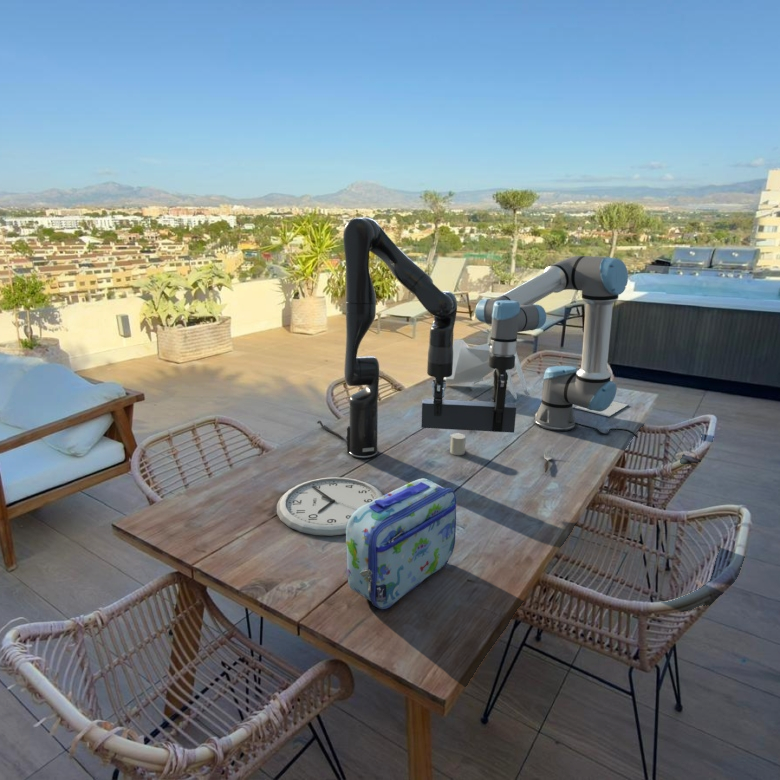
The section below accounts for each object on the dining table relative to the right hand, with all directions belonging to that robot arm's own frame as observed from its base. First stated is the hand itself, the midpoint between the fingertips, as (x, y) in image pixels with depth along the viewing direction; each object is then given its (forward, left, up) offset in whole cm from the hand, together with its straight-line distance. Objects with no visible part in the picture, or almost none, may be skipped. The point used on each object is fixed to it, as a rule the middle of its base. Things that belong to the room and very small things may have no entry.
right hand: (496, 428), depth 160 cm
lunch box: (+23, +57, -15) cm, 63 cm away
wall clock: (+45, +28, -15) cm, 55 cm away
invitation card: (-51, -71, -15) cm, 89 cm away
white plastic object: (+1, -83, -15) cm, 84 cm away
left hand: (+18, 0, +4) cm, 19 cm away
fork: (-18, -8, -15) cm, 24 cm away
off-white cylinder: (+11, -13, -15) cm, 22 cm away
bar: (+9, 0, 0) cm, 9 cm away
